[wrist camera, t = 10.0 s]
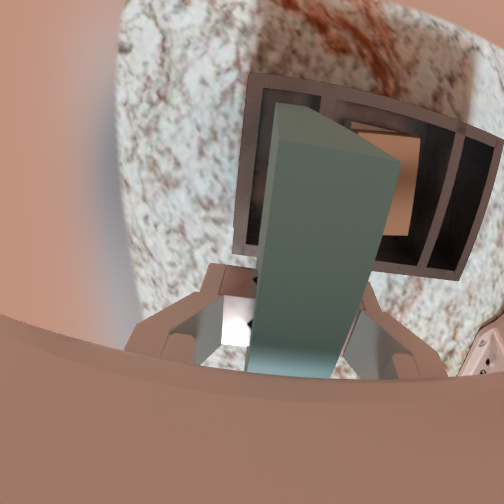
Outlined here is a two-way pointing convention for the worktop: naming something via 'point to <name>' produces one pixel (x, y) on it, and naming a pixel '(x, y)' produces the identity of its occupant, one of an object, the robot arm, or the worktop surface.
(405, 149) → the walnut offcut
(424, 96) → the worktop surface
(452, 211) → the rack
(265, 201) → the teal panel
